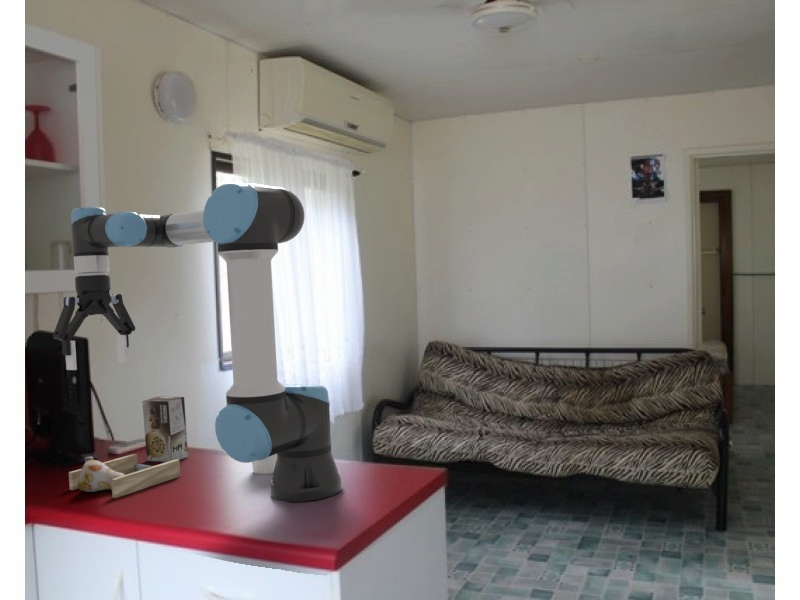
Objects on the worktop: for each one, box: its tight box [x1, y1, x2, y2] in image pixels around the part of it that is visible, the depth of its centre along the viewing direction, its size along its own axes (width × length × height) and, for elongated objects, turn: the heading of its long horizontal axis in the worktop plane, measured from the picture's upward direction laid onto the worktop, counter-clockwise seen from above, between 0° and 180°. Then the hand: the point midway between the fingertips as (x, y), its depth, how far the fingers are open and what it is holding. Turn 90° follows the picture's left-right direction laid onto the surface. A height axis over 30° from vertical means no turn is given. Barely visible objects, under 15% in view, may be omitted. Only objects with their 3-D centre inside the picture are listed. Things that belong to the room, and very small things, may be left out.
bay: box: [68, 453, 181, 499], centre depth 171 cm, size 16×18×4 cm
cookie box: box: [141, 396, 189, 463], centre depth 192 cm, size 9×6×16 cm
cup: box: [251, 454, 277, 475], centre depth 176 cm, size 9×9×12 cm
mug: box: [78, 459, 125, 493], centre depth 166 cm, size 8×10×10 cm
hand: (98, 365), depth 170 cm, fingers open, 13 cm apart
